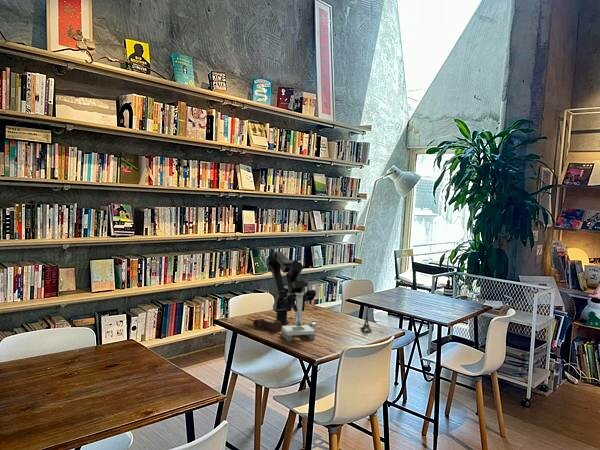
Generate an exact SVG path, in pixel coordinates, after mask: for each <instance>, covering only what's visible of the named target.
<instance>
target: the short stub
mask: <svg viewBox="0 0 600 450" xmlns="http://www.w3.org/2000/svg"><path fill="white" fill-rule="evenodd" d="M307 325H309V326H310V327H311V328H312V329H313V330H315V334H316V331H317V330H316V329H317V326H318V322H316V321H308V323H307Z"/></svg>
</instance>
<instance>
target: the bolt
mask: <svg viewBox="0 0 600 450" xmlns="http://www.w3.org/2000/svg"><path fill="white" fill-rule="evenodd" d="M252 325H253V326H254V327H258V329H260V330H261V329H270V330H273V331H274V333H279V332H282V326H283V324H282V323H281V322H280V321H276V322H275V321H274V322H272V321H266V319H265V318H260V319H254V320H253V321H252Z"/></svg>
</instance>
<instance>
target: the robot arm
mask: <svg viewBox="0 0 600 450" xmlns="http://www.w3.org/2000/svg"><path fill="white" fill-rule="evenodd" d="M265 265H266V267H267V270H268V271H269V272H270V273H271V274H272V280H273V284H274V289H275V292H276V293H275V294H276V296H275V299H274V303H273V304H272V310H273V311H274V312H275V313H276V314H275V319H274V320H273V321H274V323H275V322H276V321H280V322H281V323H282V325H284V324H285V325H286V324H288V325H289V324H290V322H289V321H288V312H291V311H292V310H293V311H294V313H295V312H297V308H296V300H295V299H296V295H295V292H304V289H305V288H306V287H308V286H309V284H308V283H309V282H308V279H302V280H299V277H300V276H301V273H302V271H303V269H304V265H303V263H301V261H298V259H293V260H291V259H289V258H288V257H287V256H286V255H285V254H284V252H283V251H273V253H272V254H270V255H268V256H267V257H266V260H265ZM282 273H284V274H285V277H284V278H285V279H284V281H286V284H287V285H286V286H287V290H286V289H285V285H284V284H285V283H284V281H283V276H282ZM287 291H288V292H287ZM316 295H317V291H316V290H315V289H307V290H306V292H304V295H303V306H302V313H303V312H304V311H305V307H306V302H308V301H310V302H311V301H314V299H315V297H316Z"/></svg>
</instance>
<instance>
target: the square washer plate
mask: <svg viewBox="0 0 600 450" xmlns="http://www.w3.org/2000/svg"><path fill="white" fill-rule="evenodd" d="M315 334H316V333H315V330H313V329H312V328H311V327H310V326H309V325H308V324H302V326H295V325H282V329H281V336H283V338H284V339H285V340H286V341H287V342H291V341H293V336H303V335H305V336H306V337H307V338H309V340H310V341H311V340H315V339H316V336H315Z"/></svg>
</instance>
